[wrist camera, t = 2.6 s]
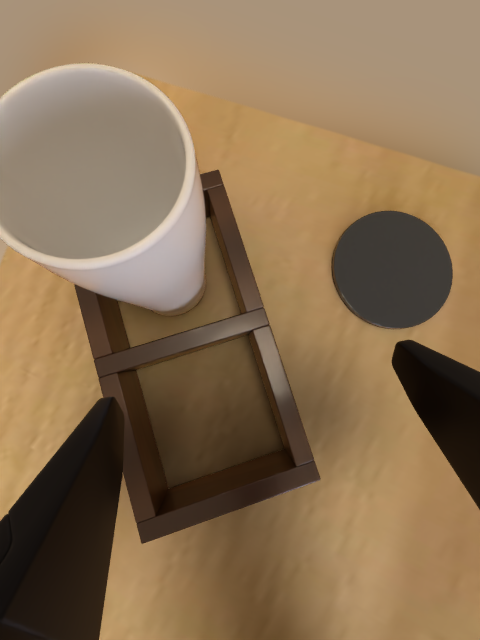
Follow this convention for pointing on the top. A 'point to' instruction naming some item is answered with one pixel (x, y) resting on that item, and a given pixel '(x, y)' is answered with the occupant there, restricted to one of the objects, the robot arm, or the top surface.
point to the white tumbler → (103, 186)
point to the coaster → (392, 270)
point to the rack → (122, 361)
